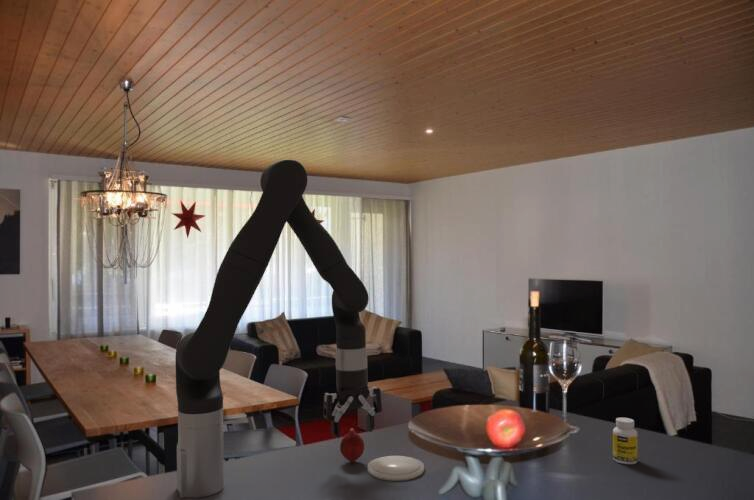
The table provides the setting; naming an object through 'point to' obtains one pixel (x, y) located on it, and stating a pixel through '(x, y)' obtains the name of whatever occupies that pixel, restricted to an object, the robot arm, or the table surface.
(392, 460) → the saucer
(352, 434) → the onion
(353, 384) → the robot arm
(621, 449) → the supplement bottle
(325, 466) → the table surface
